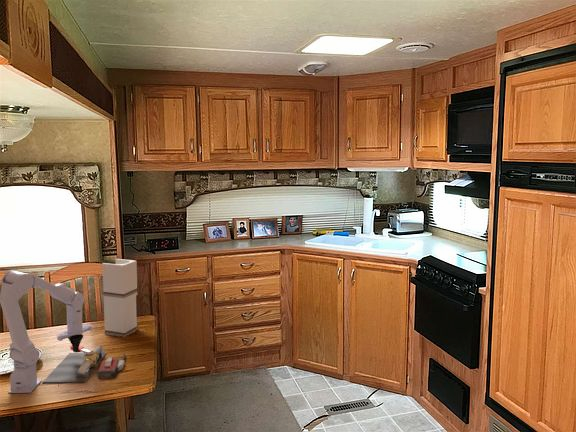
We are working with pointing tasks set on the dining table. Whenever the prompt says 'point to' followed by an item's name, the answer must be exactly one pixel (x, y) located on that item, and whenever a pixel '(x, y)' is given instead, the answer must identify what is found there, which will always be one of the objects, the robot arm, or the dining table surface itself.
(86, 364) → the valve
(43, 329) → the dining table surface
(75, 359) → the mounting board
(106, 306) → the tall square wastebasket
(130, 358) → the dining table surface
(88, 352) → the valve lever
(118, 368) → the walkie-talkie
